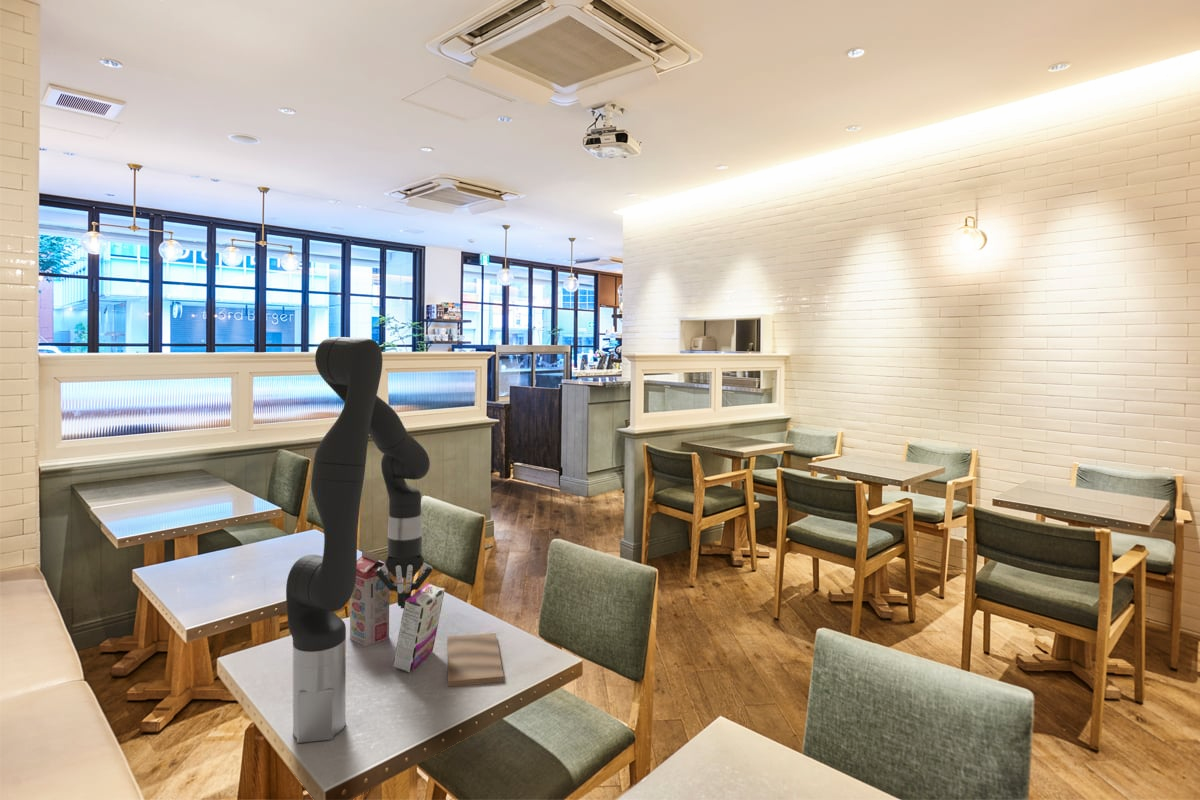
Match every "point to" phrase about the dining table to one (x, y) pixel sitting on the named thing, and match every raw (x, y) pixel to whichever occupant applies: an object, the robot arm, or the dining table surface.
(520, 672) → the dining table surface
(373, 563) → the juice carton
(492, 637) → the walnut board
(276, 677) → the dining table surface
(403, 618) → the candy bar box
